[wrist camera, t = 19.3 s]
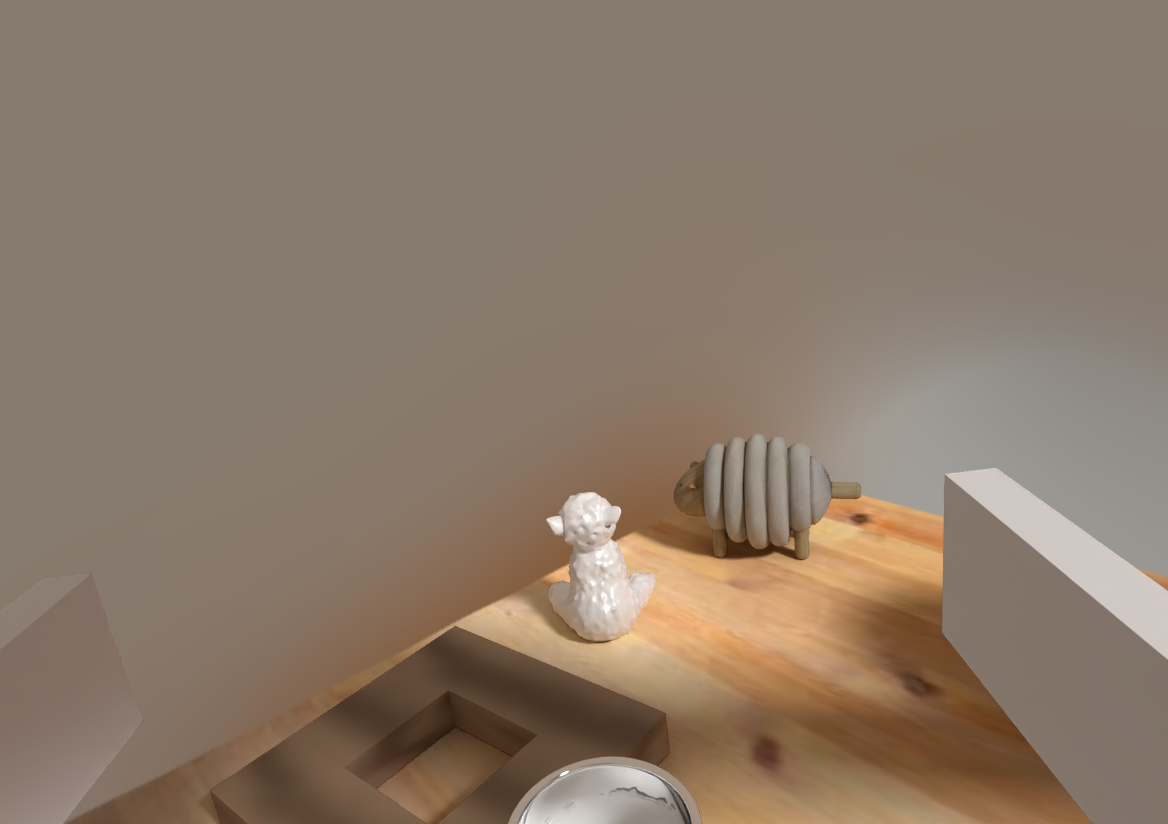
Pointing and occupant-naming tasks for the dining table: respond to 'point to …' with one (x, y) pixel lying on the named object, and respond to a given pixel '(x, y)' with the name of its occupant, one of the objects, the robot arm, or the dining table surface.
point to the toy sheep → (760, 492)
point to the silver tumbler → (608, 795)
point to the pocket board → (421, 717)
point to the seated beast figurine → (596, 572)
